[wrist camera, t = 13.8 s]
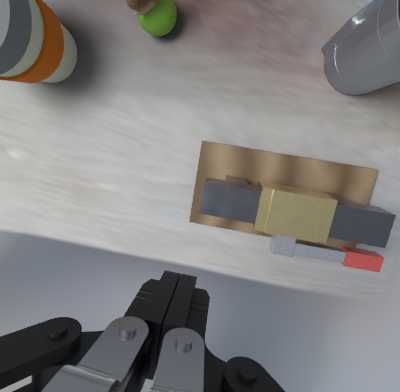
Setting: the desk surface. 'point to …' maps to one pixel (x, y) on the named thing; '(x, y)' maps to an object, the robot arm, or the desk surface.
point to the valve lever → (327, 253)
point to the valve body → (295, 211)
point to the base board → (278, 179)
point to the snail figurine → (155, 15)
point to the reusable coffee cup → (34, 43)
